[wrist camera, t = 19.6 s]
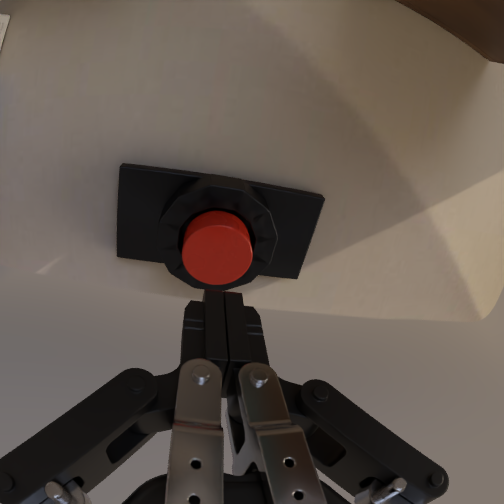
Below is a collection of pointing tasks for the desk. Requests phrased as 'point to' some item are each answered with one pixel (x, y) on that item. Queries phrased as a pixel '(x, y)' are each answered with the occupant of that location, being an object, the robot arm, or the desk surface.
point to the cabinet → (468, 22)
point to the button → (216, 248)
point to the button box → (212, 199)
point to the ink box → (3, 26)
